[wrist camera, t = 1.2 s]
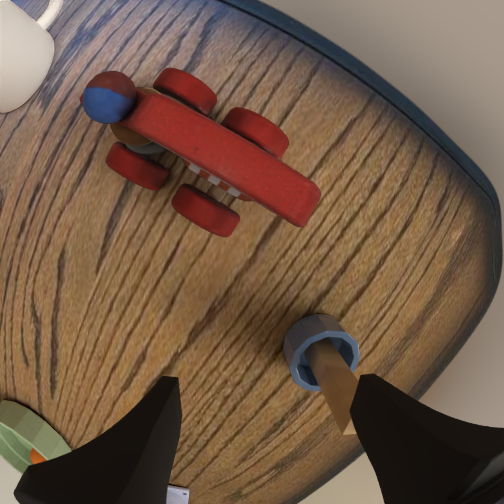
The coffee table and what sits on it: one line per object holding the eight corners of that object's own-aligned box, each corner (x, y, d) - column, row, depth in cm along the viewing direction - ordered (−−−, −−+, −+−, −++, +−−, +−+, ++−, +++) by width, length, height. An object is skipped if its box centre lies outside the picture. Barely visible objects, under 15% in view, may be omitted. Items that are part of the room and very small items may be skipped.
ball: (59, 461, 22) (51, 477, 19) (39, 452, 22) (30, 467, 19) (53, 447, 22) (44, 464, 19) (33, 437, 21) (22, 453, 18)
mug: (65, -6, 14) (18, -59, 3) (106, 21, 15) (54, -50, 5) (-16, 90, 15) (-84, 68, 4) (11, 131, 16) (-75, 114, 6)
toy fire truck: (152, 72, 17) (99, -12, 6) (302, 160, 19) (376, 128, 8) (98, 153, 17) (1, 128, 7) (245, 246, 20) (263, 302, 9)
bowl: (84, 477, 24) (75, 501, 19) (14, 445, 22) (2, 463, 18) (65, 421, 21) (49, 448, 17) (-11, 383, 20) (-30, 402, 16)
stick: (322, 355, 21) (367, 432, 12) (303, 353, 21) (342, 435, 12) (328, 337, 21) (379, 411, 12) (309, 335, 21) (353, 413, 12)
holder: (334, 370, 22) (346, 391, 19) (276, 367, 21) (282, 389, 19) (352, 316, 21) (368, 333, 18) (291, 309, 21) (301, 327, 18)
